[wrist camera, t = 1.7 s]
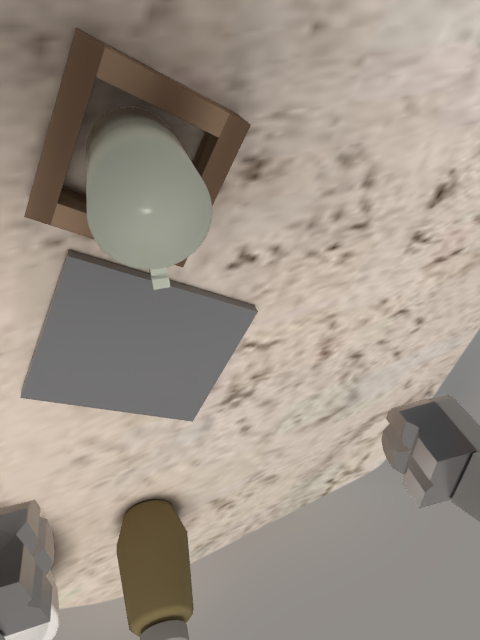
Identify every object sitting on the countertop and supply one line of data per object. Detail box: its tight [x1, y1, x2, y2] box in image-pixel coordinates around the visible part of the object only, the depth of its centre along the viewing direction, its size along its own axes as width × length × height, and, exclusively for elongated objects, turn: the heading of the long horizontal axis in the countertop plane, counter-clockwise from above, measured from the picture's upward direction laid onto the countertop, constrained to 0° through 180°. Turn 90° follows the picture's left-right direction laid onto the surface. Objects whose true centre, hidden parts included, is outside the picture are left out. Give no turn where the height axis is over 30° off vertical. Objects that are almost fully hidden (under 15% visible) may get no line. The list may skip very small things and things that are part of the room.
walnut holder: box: [24, 28, 250, 267], centre depth 28 cm, size 10×10×3 cm
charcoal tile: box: [20, 250, 258, 421], centre depth 38 cm, size 16×14×1 cm
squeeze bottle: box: [117, 500, 193, 640], centre depth 46 cm, size 8×8×18 cm
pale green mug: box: [86, 107, 212, 290], centre depth 26 cm, size 8×6×10 cm
